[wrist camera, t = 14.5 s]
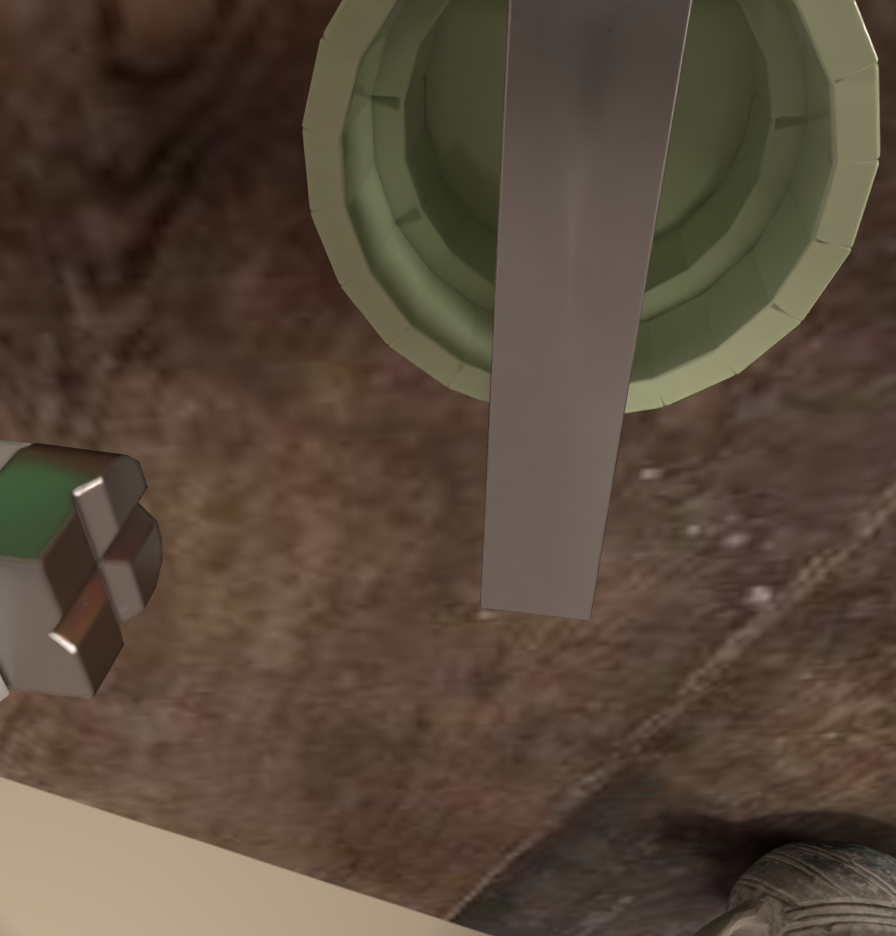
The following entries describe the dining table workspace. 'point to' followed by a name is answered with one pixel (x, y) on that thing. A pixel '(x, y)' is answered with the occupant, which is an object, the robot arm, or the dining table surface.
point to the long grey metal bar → (570, 281)
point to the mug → (812, 893)
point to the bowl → (682, 197)
